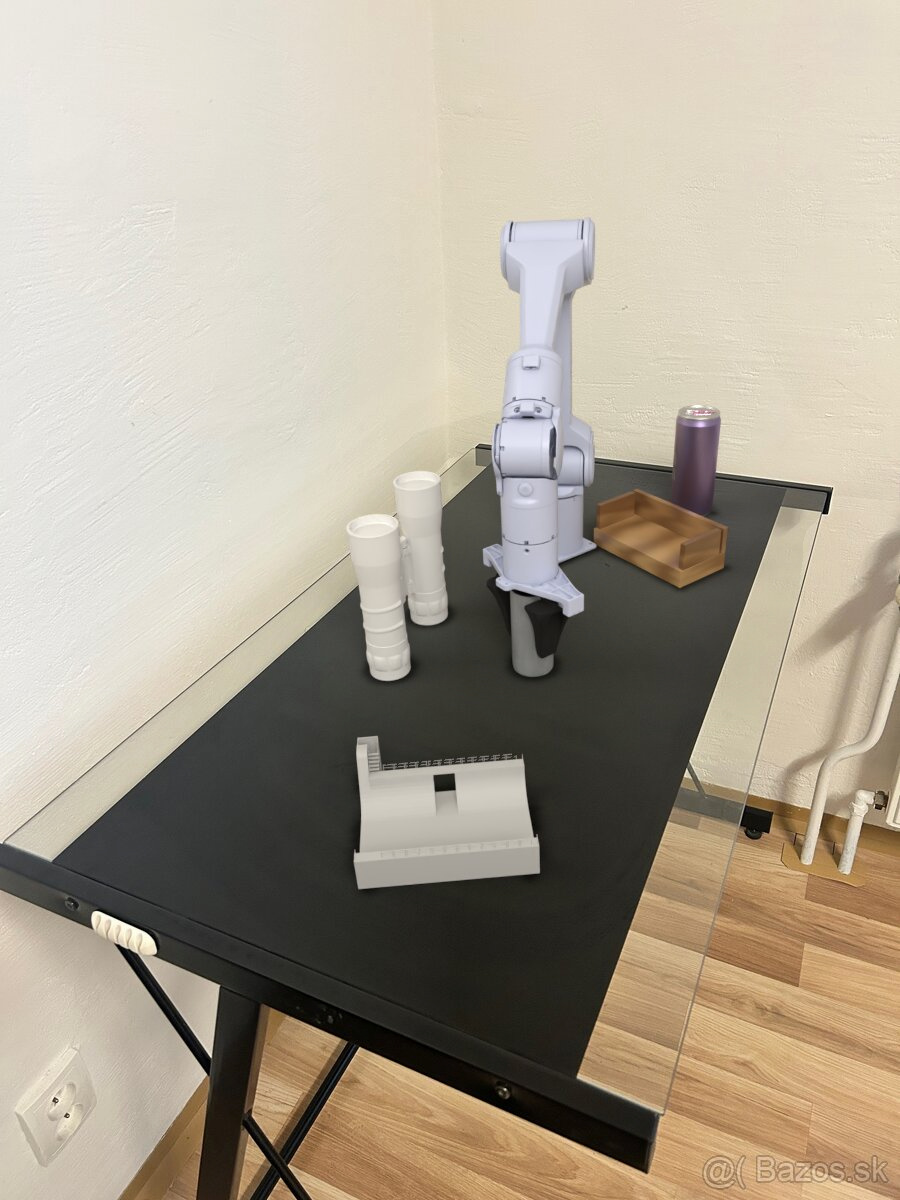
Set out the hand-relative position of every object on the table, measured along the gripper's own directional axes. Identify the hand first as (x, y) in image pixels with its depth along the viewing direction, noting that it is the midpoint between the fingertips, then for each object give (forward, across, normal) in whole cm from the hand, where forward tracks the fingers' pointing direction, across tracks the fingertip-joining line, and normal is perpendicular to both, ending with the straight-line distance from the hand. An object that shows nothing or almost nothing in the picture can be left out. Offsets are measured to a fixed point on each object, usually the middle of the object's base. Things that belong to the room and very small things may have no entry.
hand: (532, 643), depth 96 cm
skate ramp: (+3, +14, -21) cm, 25 cm away
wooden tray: (+3, -10, +28) cm, 30 cm away
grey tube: (+3, 0, 0) cm, 3 cm away
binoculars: (+3, -13, -8) cm, 16 cm away
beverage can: (+3, -16, +42) cm, 45 cm away
